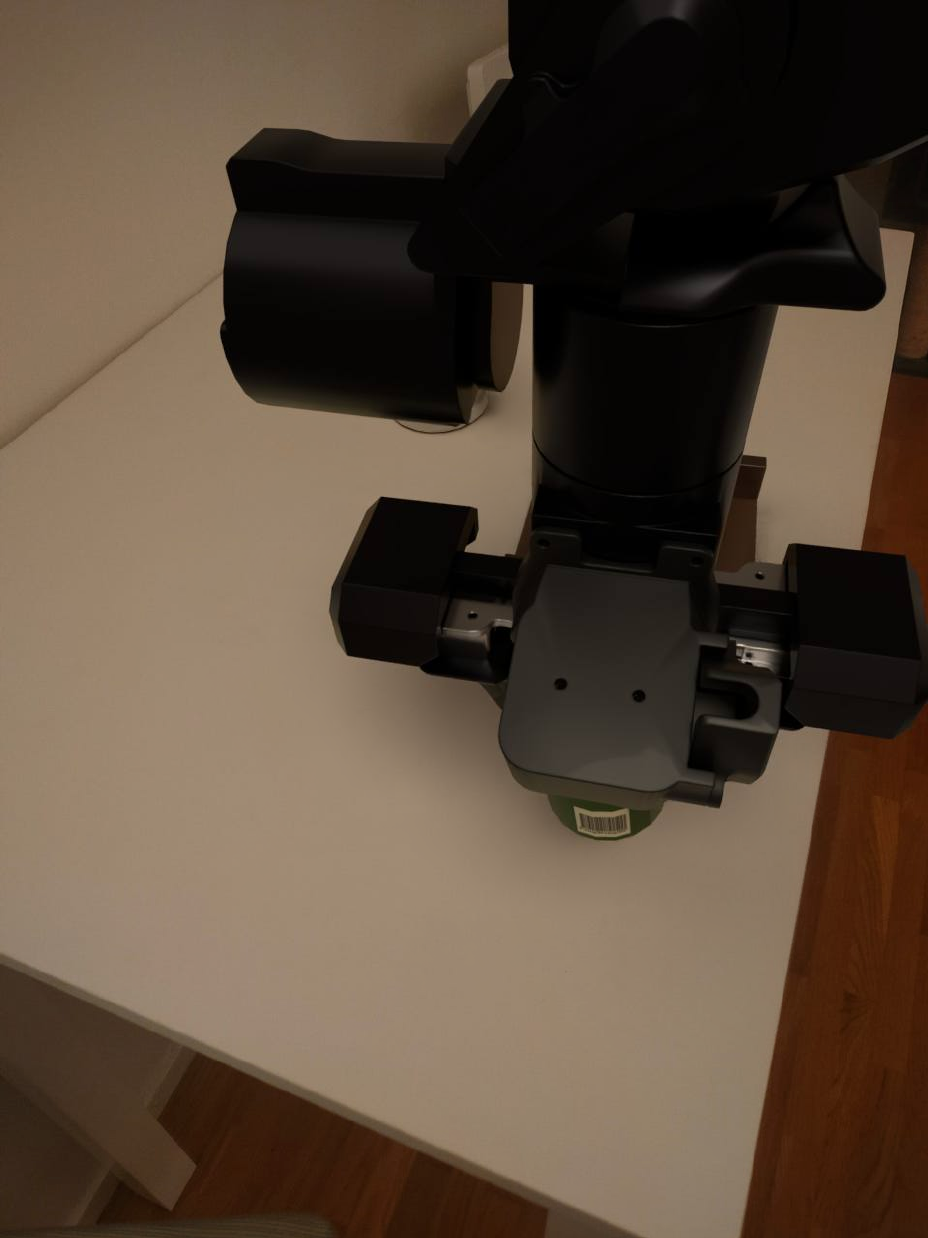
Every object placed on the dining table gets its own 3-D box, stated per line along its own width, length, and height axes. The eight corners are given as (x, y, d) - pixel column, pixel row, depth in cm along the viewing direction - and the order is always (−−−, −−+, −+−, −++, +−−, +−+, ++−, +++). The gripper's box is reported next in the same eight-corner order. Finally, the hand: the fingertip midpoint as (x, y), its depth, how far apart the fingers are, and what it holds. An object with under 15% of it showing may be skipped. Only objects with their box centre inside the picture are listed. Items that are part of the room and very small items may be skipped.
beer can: (679, 840, 35) (679, 670, 27) (555, 856, 36) (516, 695, 27) (654, 736, 39) (647, 557, 30) (542, 752, 40) (503, 581, 31)
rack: (752, 510, 61) (767, 456, 57) (746, 654, 52) (763, 602, 49) (540, 485, 64) (541, 432, 61) (502, 617, 56) (501, 565, 52)
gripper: (197, 598, 19) (323, 877, 31) (1098, 728, 15) (850, 988, 27) (349, 342, 26) (404, 649, 38) (993, 390, 22) (833, 713, 34)
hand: (599, 738), depth 34 cm, fingers closed on beer can, 6 cm apart
